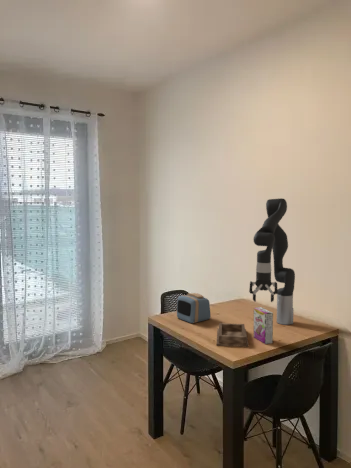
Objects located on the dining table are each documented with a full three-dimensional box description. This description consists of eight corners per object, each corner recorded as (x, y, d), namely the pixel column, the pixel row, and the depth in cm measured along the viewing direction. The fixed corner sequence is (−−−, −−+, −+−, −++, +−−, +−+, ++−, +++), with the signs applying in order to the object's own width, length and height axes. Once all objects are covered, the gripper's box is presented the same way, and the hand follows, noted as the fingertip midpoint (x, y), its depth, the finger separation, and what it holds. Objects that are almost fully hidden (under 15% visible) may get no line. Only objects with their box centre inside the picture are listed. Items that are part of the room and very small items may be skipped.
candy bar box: (252, 337, 210) (253, 307, 209) (260, 336, 212) (261, 306, 211) (264, 344, 200) (265, 313, 198) (273, 343, 202) (273, 312, 200)
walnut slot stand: (245, 331, 221) (245, 323, 220) (248, 346, 197) (248, 338, 197) (217, 330, 223) (217, 322, 222) (216, 345, 199) (216, 337, 198)
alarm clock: (175, 318, 246) (175, 293, 244) (195, 313, 256) (195, 289, 254) (191, 324, 233) (191, 298, 231) (212, 319, 243) (212, 294, 241)
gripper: (276, 269, 206) (276, 300, 207) (249, 269, 207) (248, 299, 209) (278, 272, 198) (278, 303, 200) (250, 271, 200) (249, 303, 201)
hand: (263, 301), depth 204 cm, fingers open, 8 cm apart
